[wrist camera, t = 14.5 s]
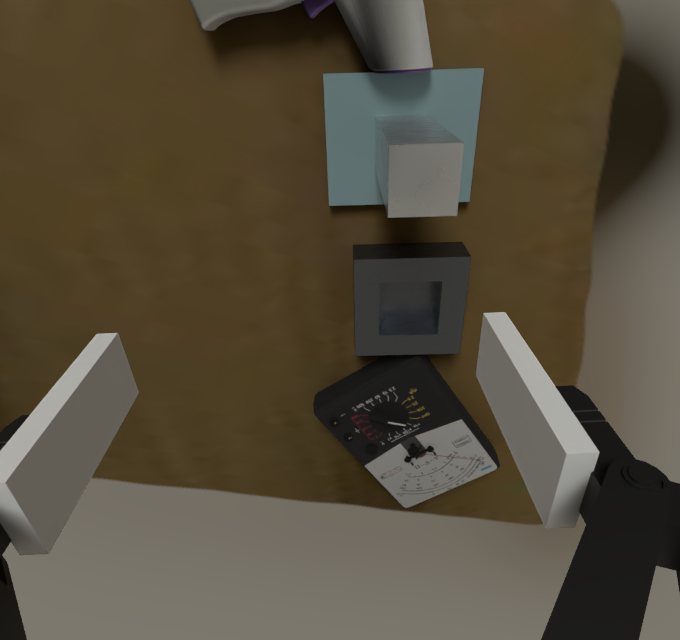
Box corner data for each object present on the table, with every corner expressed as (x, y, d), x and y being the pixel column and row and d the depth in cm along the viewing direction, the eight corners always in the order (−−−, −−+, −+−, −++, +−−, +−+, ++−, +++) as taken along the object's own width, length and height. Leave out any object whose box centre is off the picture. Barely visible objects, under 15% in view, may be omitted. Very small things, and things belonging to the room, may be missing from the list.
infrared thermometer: (190, -36, 33) (391, -138, 29) (261, 134, 39) (436, 65, 35) (165, -46, 29) (393, -165, 26) (248, 144, 35) (443, 68, 31)
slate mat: (329, 202, 40) (329, 205, 39) (323, 73, 35) (323, 74, 34) (466, 198, 40) (469, 201, 39) (480, 67, 35) (484, 68, 34)
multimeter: (413, 335, 48) (420, 363, 44) (494, 445, 56) (507, 478, 51) (312, 392, 52) (310, 423, 47) (401, 487, 60) (406, 521, 55)
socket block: (354, 336, 47) (355, 355, 44) (353, 244, 42) (353, 259, 39) (452, 334, 47) (459, 353, 44) (462, 241, 42) (471, 256, 39)
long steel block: (374, 168, 38) (387, 217, 27) (375, 115, 36) (389, 145, 25) (423, 167, 38) (457, 215, 27) (426, 114, 36) (464, 142, 25)
